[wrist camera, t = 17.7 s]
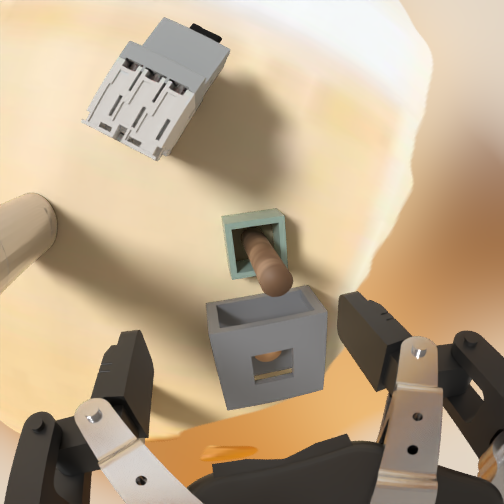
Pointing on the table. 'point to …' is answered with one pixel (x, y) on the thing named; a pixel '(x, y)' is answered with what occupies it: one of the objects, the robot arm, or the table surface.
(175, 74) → the circuit breaker
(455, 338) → the robot arm
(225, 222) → the holder
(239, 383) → the gray open box frame
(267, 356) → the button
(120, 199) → the table surface
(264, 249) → the brown rounded rod
